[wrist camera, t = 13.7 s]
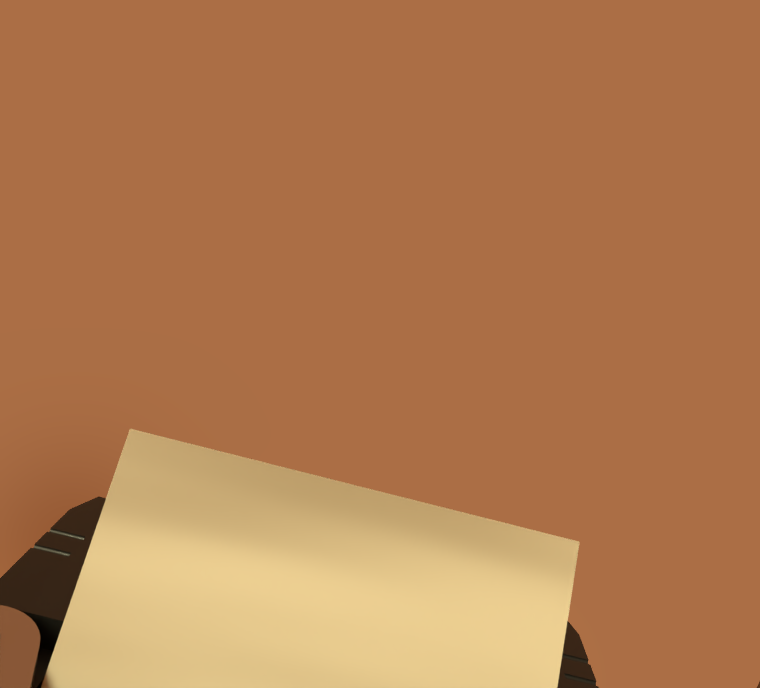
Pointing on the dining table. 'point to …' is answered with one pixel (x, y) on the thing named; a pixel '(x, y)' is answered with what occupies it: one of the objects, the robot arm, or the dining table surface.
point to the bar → (303, 585)
